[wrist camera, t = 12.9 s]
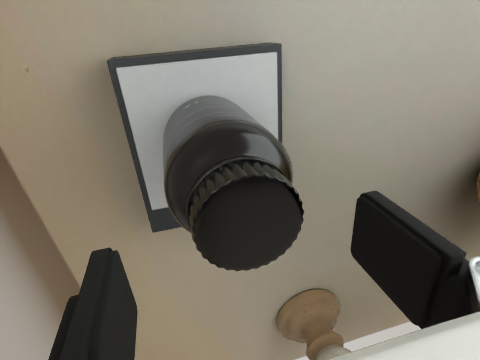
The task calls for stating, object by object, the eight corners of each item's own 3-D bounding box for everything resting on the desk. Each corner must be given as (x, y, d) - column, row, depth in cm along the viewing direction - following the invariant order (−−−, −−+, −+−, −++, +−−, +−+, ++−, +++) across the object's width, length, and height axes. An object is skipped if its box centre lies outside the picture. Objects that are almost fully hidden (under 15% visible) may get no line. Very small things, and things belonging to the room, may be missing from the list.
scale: (153, 217, 27) (152, 235, 25) (112, 57, 21) (105, 60, 18) (273, 194, 30) (284, 209, 27) (270, 42, 23) (283, 43, 21)
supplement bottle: (261, 160, 24) (335, 256, 14) (183, 190, 24) (200, 312, 13) (237, 78, 21) (313, 123, 10) (146, 111, 20) (131, 192, 10)
